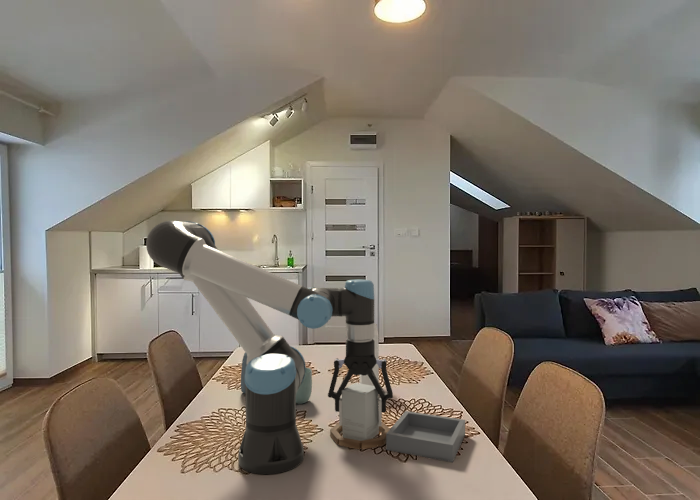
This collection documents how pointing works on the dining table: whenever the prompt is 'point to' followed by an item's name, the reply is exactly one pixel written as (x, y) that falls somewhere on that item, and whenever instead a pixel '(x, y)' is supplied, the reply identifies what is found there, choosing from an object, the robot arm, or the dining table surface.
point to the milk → (365, 378)
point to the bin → (426, 436)
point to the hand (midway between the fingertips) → (360, 423)
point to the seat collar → (356, 443)
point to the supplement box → (360, 412)
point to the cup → (305, 388)
